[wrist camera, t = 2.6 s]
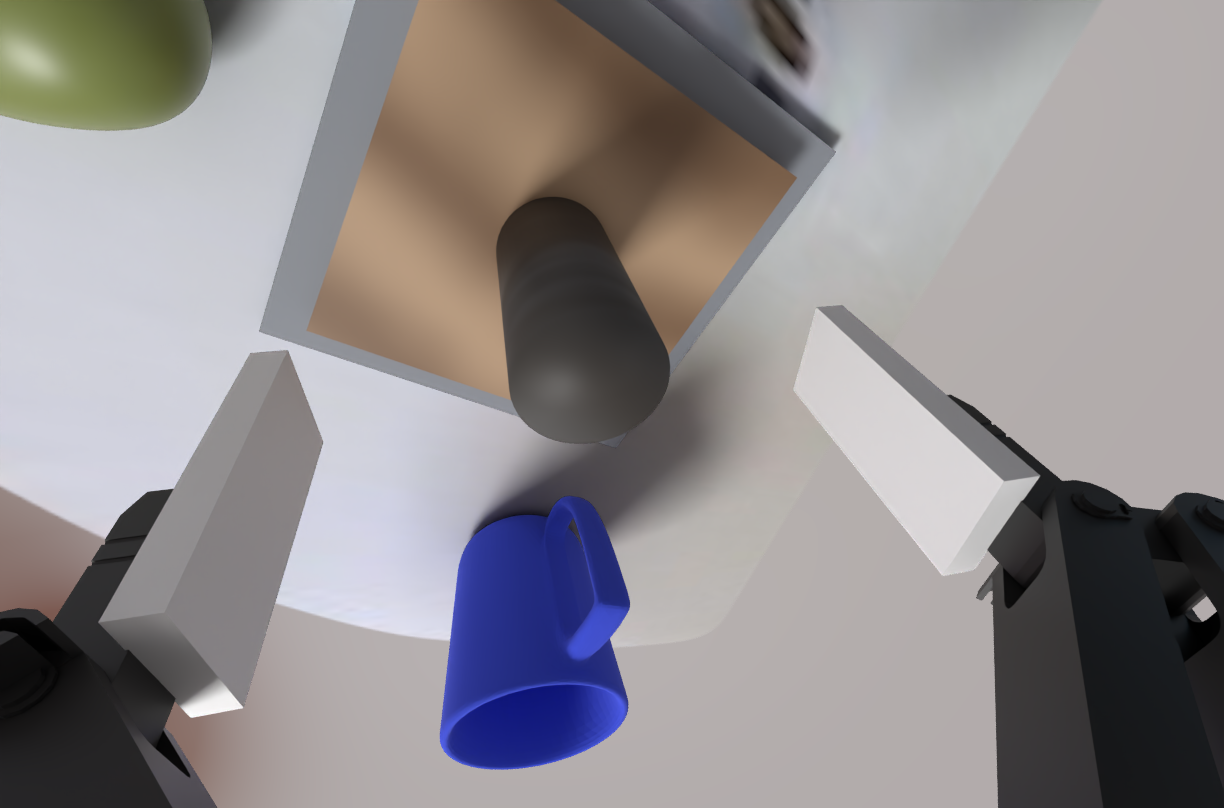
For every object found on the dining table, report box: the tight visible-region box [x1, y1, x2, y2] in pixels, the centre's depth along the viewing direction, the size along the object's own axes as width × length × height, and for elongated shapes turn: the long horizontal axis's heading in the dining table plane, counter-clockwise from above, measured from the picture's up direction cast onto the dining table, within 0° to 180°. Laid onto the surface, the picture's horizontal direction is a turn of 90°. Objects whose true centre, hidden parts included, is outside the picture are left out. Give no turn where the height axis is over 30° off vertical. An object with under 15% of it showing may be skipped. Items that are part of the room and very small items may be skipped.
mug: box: [440, 496, 630, 769], centre depth 27 cm, size 8×12×10 cm
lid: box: [306, 0, 797, 444], centre depth 17 cm, size 13×13×9 cm
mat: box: [259, 0, 836, 448], centre depth 21 cm, size 16×16×1 cm
